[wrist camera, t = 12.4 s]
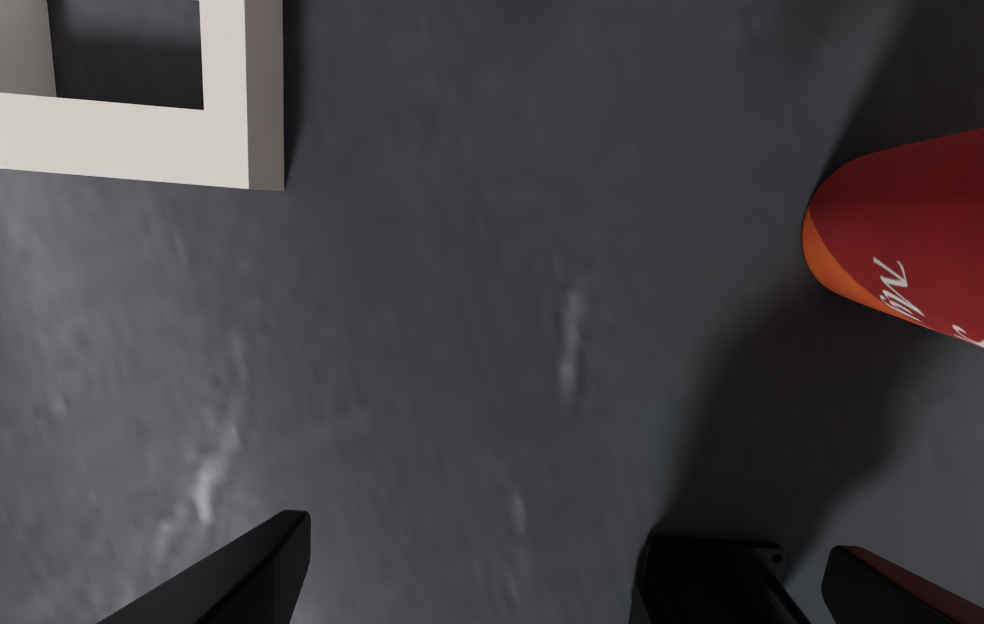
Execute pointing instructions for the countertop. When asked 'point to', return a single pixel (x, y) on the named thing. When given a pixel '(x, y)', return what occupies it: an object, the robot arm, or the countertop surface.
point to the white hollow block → (152, 107)
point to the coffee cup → (906, 233)
